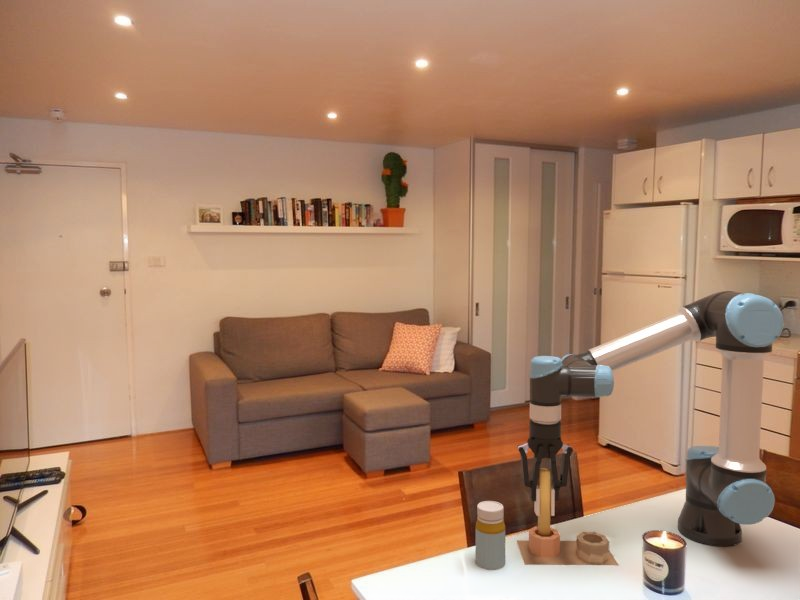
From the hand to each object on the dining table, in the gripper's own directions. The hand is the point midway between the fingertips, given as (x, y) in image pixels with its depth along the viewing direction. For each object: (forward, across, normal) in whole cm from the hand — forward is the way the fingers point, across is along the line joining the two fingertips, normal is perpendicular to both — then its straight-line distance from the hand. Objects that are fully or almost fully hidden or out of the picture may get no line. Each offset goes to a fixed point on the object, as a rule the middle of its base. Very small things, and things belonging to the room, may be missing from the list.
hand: (544, 513), depth 148 cm
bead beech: (+9, -11, +3) cm, 15 cm away
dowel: (+5, 0, 0) cm, 5 cm away
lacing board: (+11, -5, +1) cm, 12 cm away
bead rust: (+9, 0, 0) cm, 9 cm away
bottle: (+11, +14, +6) cm, 19 cm away
